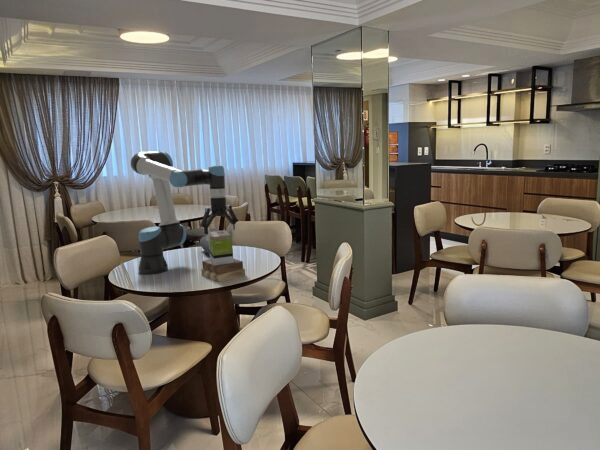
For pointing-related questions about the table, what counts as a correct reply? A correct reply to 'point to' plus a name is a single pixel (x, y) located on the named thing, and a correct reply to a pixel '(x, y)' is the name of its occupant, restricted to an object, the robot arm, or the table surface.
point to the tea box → (221, 247)
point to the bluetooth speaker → (205, 244)
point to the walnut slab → (222, 266)
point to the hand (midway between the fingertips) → (220, 238)
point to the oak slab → (223, 275)
